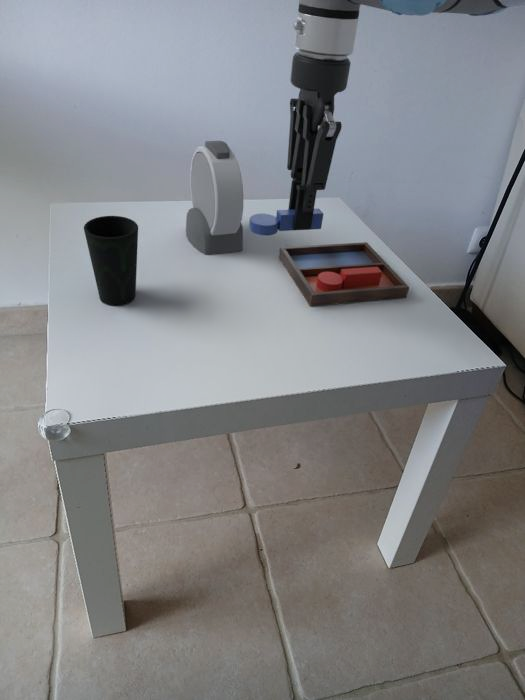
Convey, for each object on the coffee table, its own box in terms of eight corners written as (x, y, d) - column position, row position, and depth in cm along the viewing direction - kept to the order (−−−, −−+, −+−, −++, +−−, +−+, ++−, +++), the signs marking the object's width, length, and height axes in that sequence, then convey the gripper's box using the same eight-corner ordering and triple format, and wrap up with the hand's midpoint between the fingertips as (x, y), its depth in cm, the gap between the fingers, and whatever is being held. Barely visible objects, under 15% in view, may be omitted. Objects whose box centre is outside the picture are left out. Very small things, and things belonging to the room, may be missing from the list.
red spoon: (371, 276, 95) (374, 263, 93) (382, 288, 92) (385, 275, 90) (312, 280, 92) (315, 267, 90) (321, 293, 89) (324, 280, 87)
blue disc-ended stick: (313, 220, 85) (316, 205, 83) (324, 232, 81) (326, 216, 80) (245, 223, 81) (246, 207, 80) (253, 236, 78) (255, 219, 77)
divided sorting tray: (364, 252, 104) (366, 242, 103) (406, 297, 92) (409, 287, 90) (278, 257, 99) (279, 247, 98) (310, 306, 87) (312, 295, 85)
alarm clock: (253, 254, 99) (261, 156, 88) (201, 260, 96) (203, 159, 84) (224, 219, 111) (228, 128, 100) (177, 223, 107) (176, 129, 96)
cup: (103, 281, 87) (96, 212, 80) (148, 287, 87) (144, 219, 79) (84, 305, 81) (74, 233, 74) (132, 313, 81) (127, 241, 73)
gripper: (276, 42, 72) (261, 206, 86) (317, 64, 61) (292, 249, 75) (326, 45, 74) (303, 205, 88) (375, 67, 63) (340, 245, 77)
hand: (298, 224), depth 82 cm, fingers closed on blue disc-ended stick, 2 cm apart
